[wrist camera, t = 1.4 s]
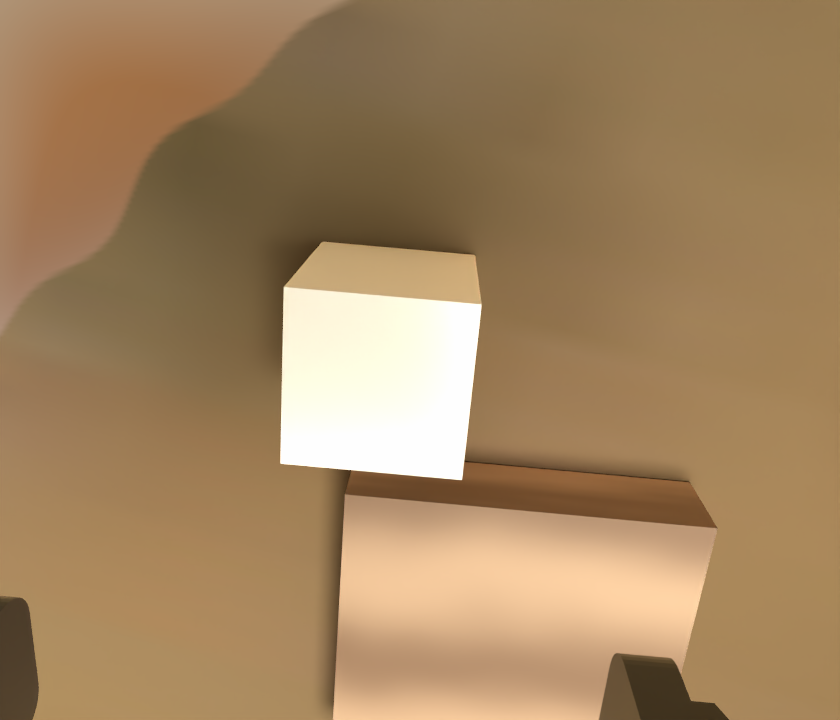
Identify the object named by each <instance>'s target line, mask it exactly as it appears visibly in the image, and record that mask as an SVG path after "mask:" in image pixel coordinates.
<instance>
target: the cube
mask: <svg viewBox="0 0 840 720" xmlns="http://www.w3.org/2000/svg"><path fill="white" fill-rule="evenodd" d="M481 306H482V303H481V296H480V288H479V281H478V274H477V266H476V259H475V255H470V254H458V253H447V252H435V251H424V250H413V249H401V248H390V247H378V246H367V245H355V244H344V243H333V242H321V244H320V245H319V246H318V247H317V248H316V249H315V251H314V252H313V253H312V254H311V255H310V257H309V258H308V259H307V260H306V261H305V262H304V264H303V265H302V266H301V267H300V268H299V270H298V271H297V272H296V273H295V274H294V276H293V277H292V278H291V279H290V280H289V281H288V283H287V284H286V285H285V286H284V301H283V355H282V409H281V462H280V464H291V465H302V466H313V467H324V468H335V469H346V470H357V471H368V472H379V473H390V474H401V475H412V476H423V477H434V478H445V479H456V480H462V475H463V466H464V457H465V448H466V439H467V431H468V422H469V413H470V404H471V395H472V386H473V377H474V368H475V359H476V350H477V342H478V333H479V324H480V315H481Z"/></svg>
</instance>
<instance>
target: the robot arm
mask: <svg viewBox="0 0 840 720" xmlns="http://www.w3.org/2000/svg"><path fill="white" fill-rule="evenodd" d="M38 690H39V686H38V676H37V668H36V660H35V652H34V644H33V636H32V628H31V620H30V612H29V607H28V605H27V603H26V601H25V600H24V599H22V598H17V597H6V596H0V720H32V719H33V716H34V713H35V709H36V705H37V700H38ZM599 720H729V719H728V718H727V717H726V716H725V715H724V714H723V713H722V711H721V710H720V709H719V708H718V707H717V706H716V705H715V704H714V703H705V702H694V701H691V700H690V698H689V695H688V692H687V690H686V687H685V685H684V682H683V680H682V677H681V674H680V672H679V669H678V667H677V665H676V663H675V662H674V660H673V659H671V658H666V657H655V656H644V655H633V654H622V653H616V654H614V656H613V657H612V660H611V663H610V667H609V672H608V677H607V682H606V687H605V692H604V696H603V701H602V706H601V711H600V716H599Z"/></svg>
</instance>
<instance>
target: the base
mask: <svg viewBox="0 0 840 720" xmlns="http://www.w3.org/2000/svg"><path fill="white" fill-rule="evenodd" d="M716 532H717V527H716V525H715V524H714V522H713V520H712V519H711V517H710V515H709V514H708V512H707V510H706V509H705V507H704V505H703V504H702V502H701V500H700V499H699V497H698V495H697V494H696V492H695V490H694V489H693V487H692V485H691V484H690V482H682V481H671V480H660V479H649V478H638V477H627V476H616V475H604V474H593V473H582V472H571V471H560V470H549V469H538V468H527V467H516V466H505V465H494V464H483V463H472V462H464V466H463V475H462V480H456V479H445V478H434V477H423V476H412V475H401V474H390V473H379V472H368V471H357V470H351V473H350V477H349V481H348V485H347V488H346V492H345V503H344V522H343V541H342V559H341V578H340V597H339V616H338V635H337V654H336V673H335V692H334V711H333V720H599V716H600V711H601V706H602V701H603V696H604V692H605V687H606V682H607V677H608V672H609V667H610V663H611V660H612V657H613V656H614V654H616V653H622V654H633V655H644V656H655V657H666V658H671V659H673V660H674V662H675V663H676V665H677V667H678V669H679V672H680V674H681V671H682V667H683V663H684V659H685V655H686V651H687V648H688V644H689V640H690V636H691V632H692V628H693V624H694V620H695V616H696V612H697V608H698V604H699V600H700V596H701V592H702V588H703V584H704V580H705V576H706V572H707V568H708V564H709V560H710V556H711V552H712V548H713V544H714V540H715V536H716Z"/></svg>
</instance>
